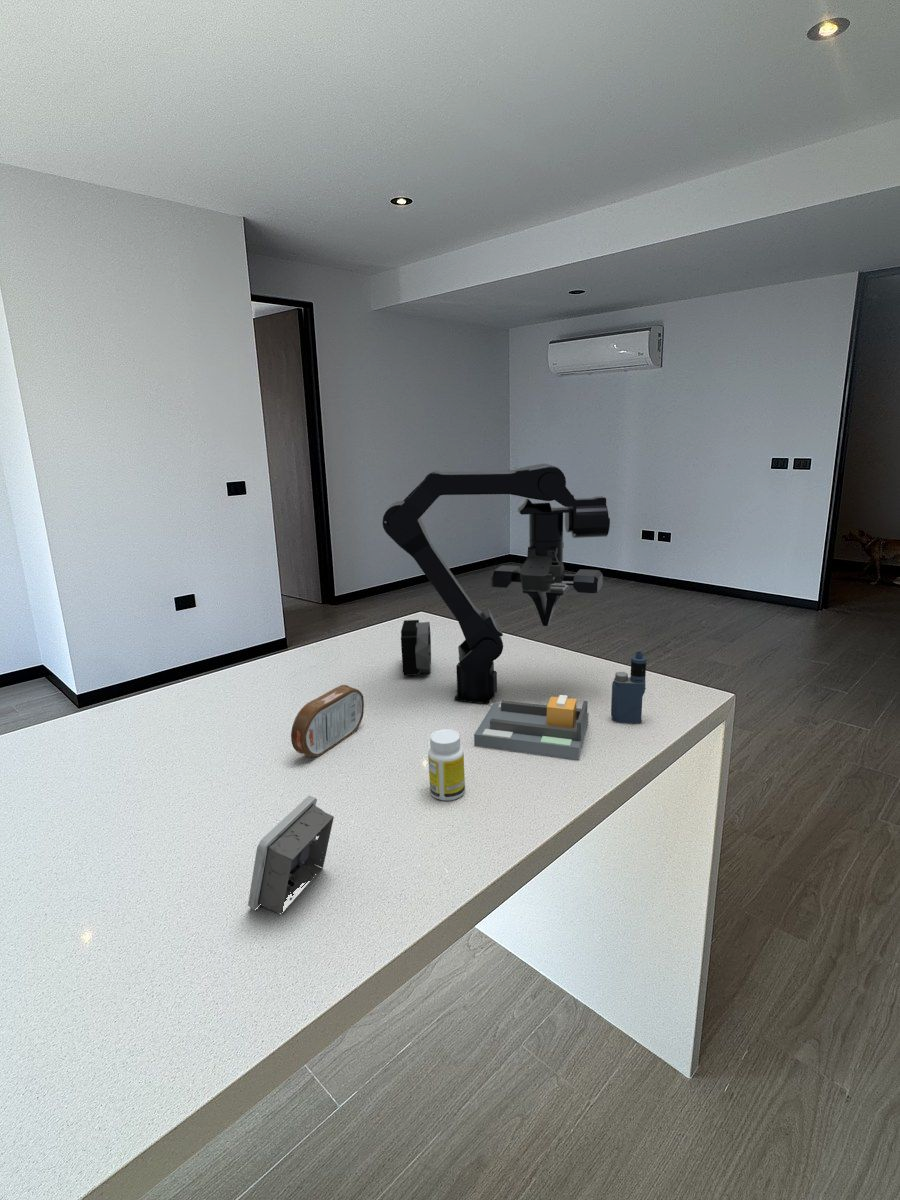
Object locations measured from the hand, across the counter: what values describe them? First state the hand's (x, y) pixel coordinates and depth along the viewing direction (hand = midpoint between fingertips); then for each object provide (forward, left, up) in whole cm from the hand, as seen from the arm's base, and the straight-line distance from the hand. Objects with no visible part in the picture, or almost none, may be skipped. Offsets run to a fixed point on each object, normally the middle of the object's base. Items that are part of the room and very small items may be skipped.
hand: (545, 625), depth 112 cm
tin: (-29, -27, -13) cm, 42 cm away
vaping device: (+15, -7, -13) cm, 21 cm away
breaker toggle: (+5, -16, -11) cm, 20 cm away
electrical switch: (-17, -57, -13) cm, 61 cm away
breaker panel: (+1, -16, -13) cm, 21 cm away
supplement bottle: (-7, -35, -13) cm, 38 cm away
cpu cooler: (-27, +5, -13) cm, 31 cm away
